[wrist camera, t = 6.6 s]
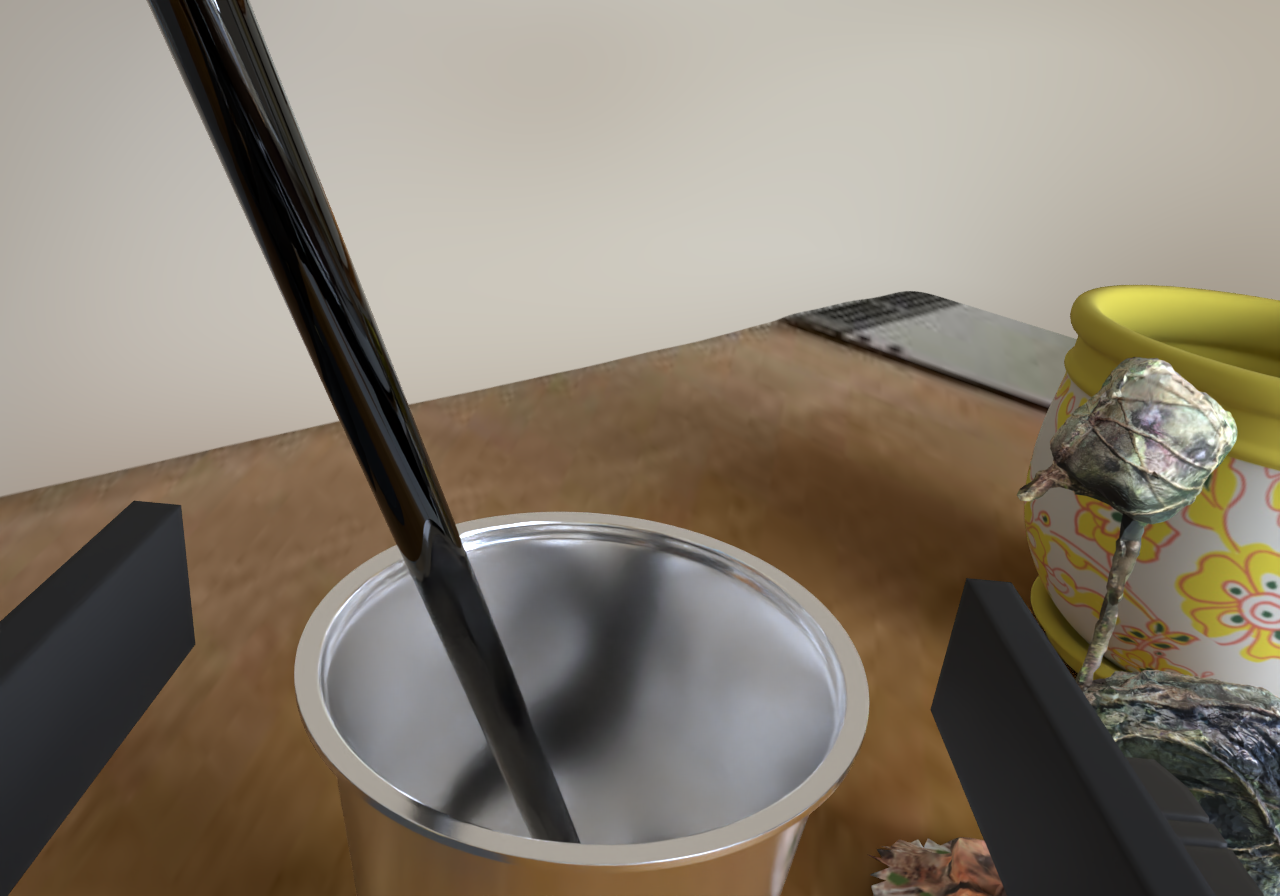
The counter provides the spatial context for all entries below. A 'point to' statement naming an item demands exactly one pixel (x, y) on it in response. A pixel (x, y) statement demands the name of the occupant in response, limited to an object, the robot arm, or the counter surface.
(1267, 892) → the decorative sculpture
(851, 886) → the counter surface
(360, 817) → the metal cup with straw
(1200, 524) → the flowerpot
